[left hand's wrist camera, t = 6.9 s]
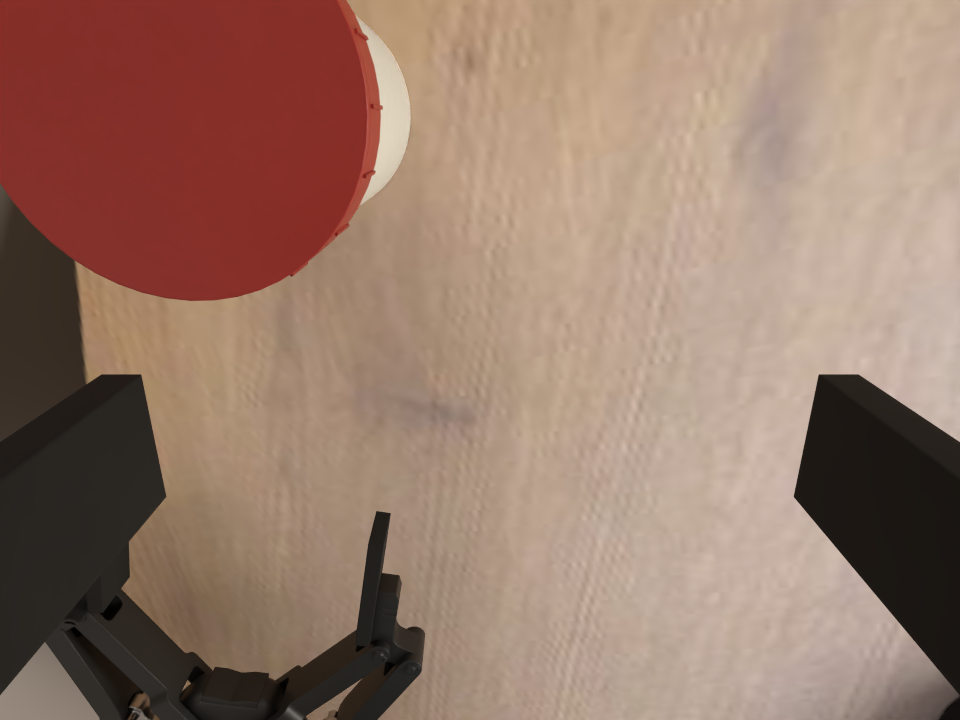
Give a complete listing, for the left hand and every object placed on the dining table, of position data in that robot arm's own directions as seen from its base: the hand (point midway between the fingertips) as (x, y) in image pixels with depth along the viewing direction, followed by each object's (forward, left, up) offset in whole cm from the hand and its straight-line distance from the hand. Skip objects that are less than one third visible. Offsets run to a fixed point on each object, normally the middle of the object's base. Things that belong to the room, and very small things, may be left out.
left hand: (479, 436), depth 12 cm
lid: (-4, -10, -7) cm, 13 cm away
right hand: (+15, -8, -16) cm, 23 cm away
